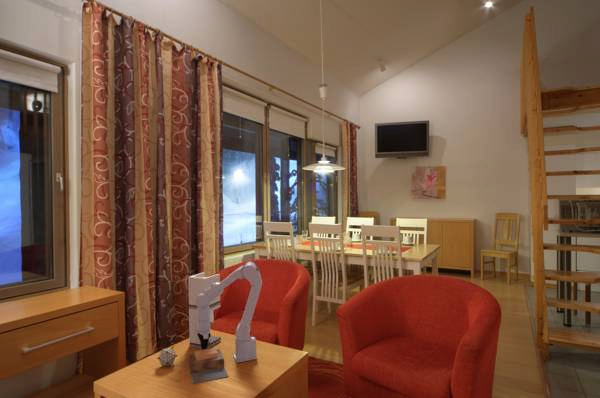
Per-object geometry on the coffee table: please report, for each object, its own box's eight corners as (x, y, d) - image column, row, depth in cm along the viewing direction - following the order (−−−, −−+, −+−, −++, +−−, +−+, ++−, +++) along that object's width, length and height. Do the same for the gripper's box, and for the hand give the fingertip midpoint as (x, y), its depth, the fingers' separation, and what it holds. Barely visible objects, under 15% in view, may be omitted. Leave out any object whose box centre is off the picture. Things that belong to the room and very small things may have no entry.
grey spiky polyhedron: (169, 375, 163) (168, 363, 157) (153, 367, 164) (151, 355, 158) (181, 358, 170) (181, 346, 164) (165, 350, 171) (165, 338, 165)
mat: (224, 367, 162) (224, 366, 162) (228, 376, 153) (228, 376, 153) (191, 373, 156) (191, 373, 156) (193, 383, 148) (193, 383, 148)
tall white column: (206, 349, 180) (205, 278, 180) (189, 346, 185) (188, 276, 184) (220, 341, 191) (219, 273, 190) (204, 337, 195) (203, 272, 195)
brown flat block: (219, 357, 172) (219, 348, 172) (224, 367, 162) (224, 358, 162) (188, 362, 167) (188, 354, 166) (191, 373, 156) (191, 364, 156)
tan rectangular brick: (215, 351, 169) (215, 347, 168) (217, 357, 163) (217, 352, 163) (194, 355, 165) (194, 351, 165) (196, 360, 160) (196, 356, 160)
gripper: (193, 316, 175) (193, 344, 175) (196, 326, 161) (197, 356, 162) (208, 314, 177) (208, 341, 178) (212, 323, 164) (213, 354, 164)
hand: (204, 348), depth 170 cm, fingers closed
